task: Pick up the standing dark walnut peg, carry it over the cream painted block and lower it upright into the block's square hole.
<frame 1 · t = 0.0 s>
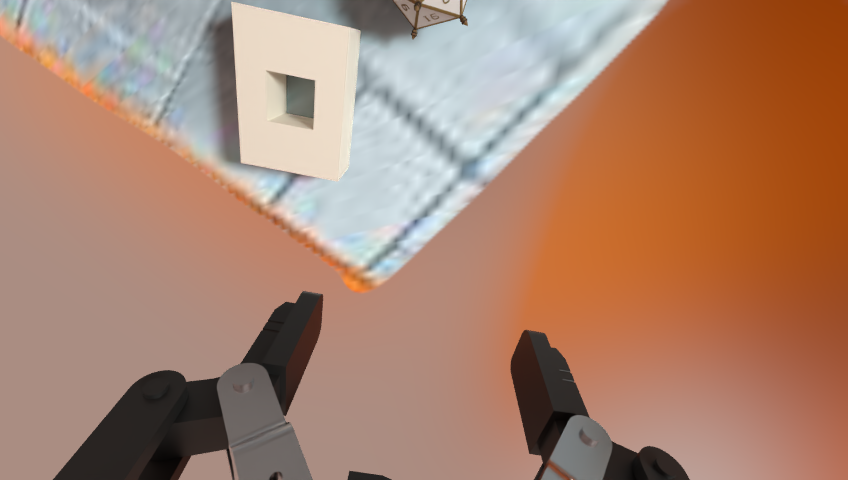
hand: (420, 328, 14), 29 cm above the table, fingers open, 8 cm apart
hole block: (307, 95, 38), on the table
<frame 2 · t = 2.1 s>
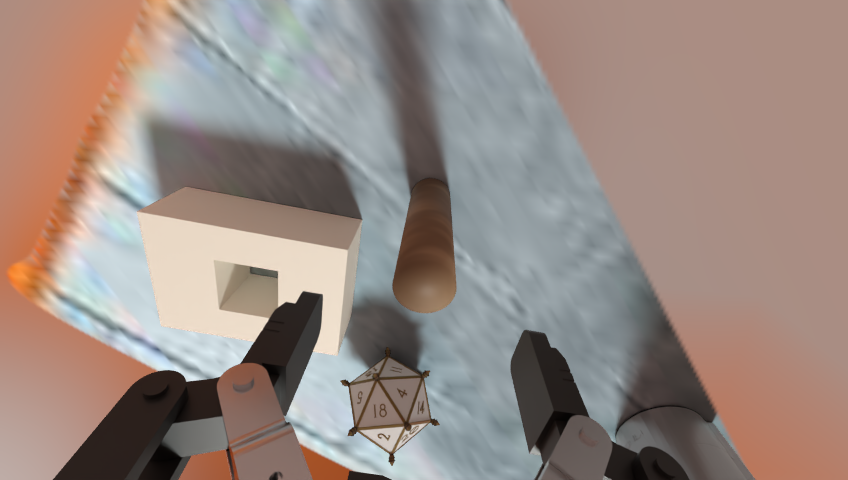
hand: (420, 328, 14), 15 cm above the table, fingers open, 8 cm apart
hole block: (275, 256, 30), on the table
peg: (430, 197, 27), on the table
game die: (394, 367, 36), on the table
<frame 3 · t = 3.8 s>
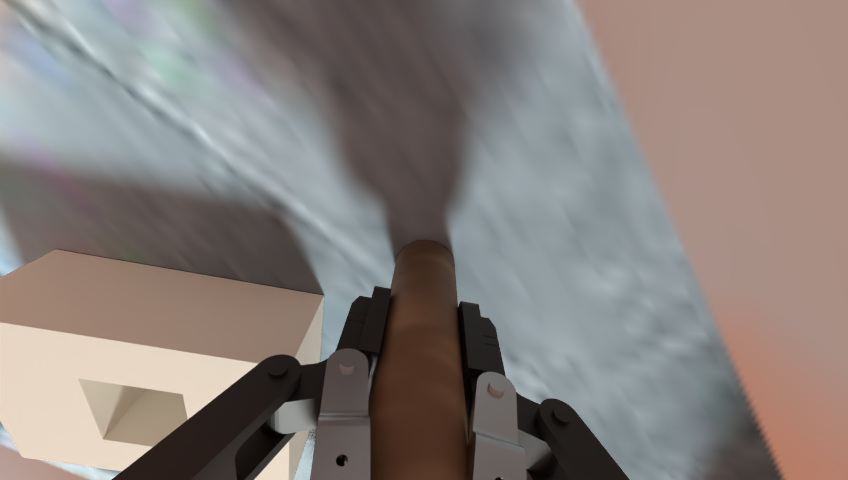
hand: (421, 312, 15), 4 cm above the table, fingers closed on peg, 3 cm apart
hole block: (202, 341, 21), on the table
peg: (425, 265, 18), on the table, touching gripper
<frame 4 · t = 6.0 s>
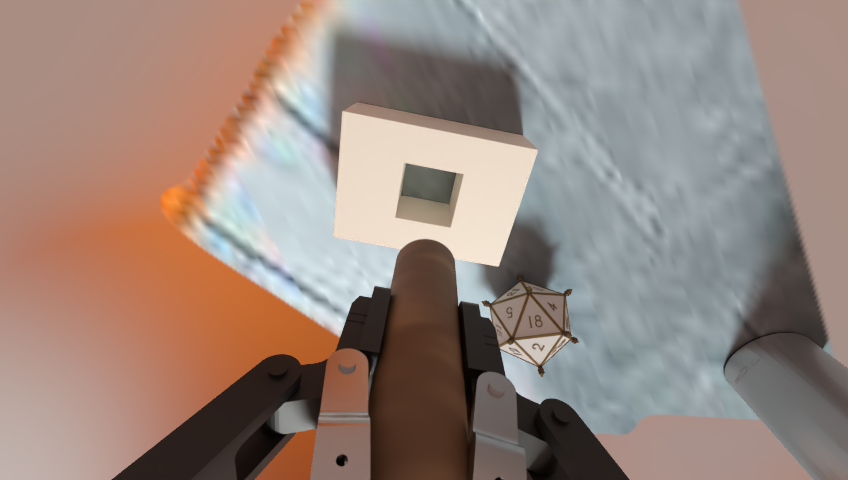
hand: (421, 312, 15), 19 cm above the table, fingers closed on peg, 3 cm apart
hole block: (429, 176, 31), on the table
peg: (425, 264, 18), point 15 cm above the table, touching gripper
game die: (521, 295, 37), on the table
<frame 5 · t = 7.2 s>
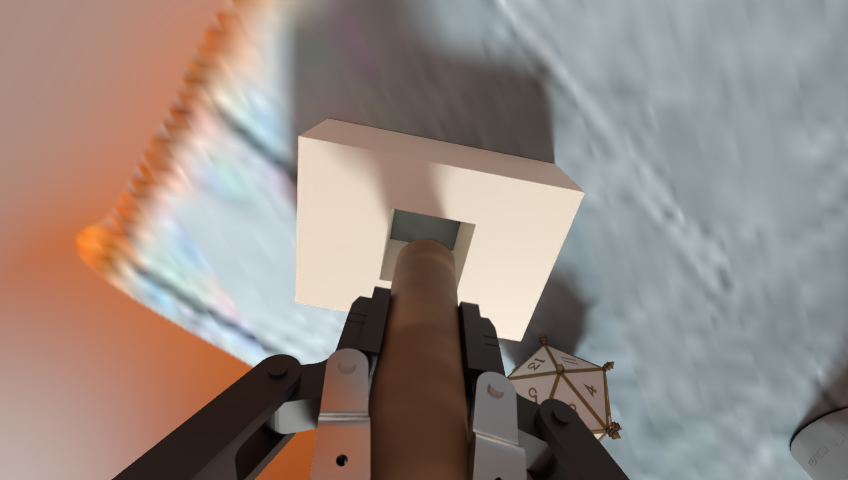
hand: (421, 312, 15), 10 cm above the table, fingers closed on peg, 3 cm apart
hole block: (427, 215, 24), on the table
peg: (425, 264, 18), point 6 cm above the table, touching gripper
game die: (542, 358, 30), on the table
when the fingers open (6 cm above the table, at t = 8.2 s): peg drops 2 cm, resting in hole block.
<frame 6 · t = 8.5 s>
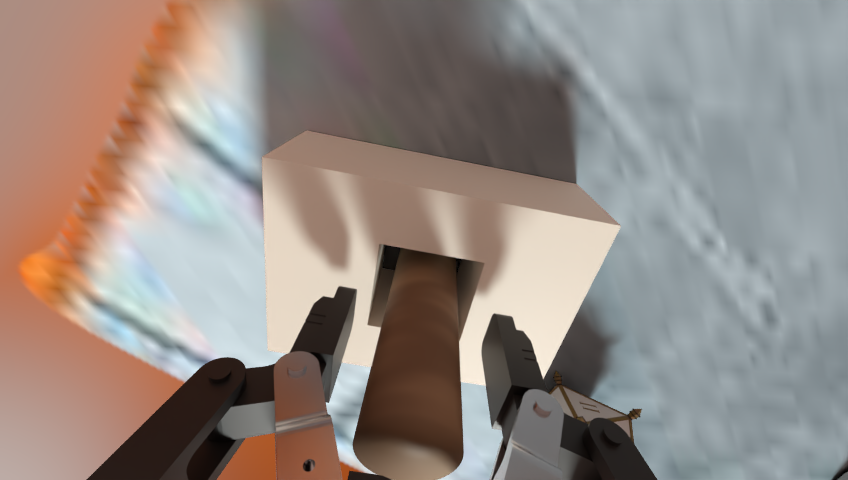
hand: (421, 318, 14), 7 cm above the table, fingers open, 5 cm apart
hole block: (426, 242, 20), on the table
peg: (428, 242, 20), resting in hole block
game die: (556, 396, 26), on the table
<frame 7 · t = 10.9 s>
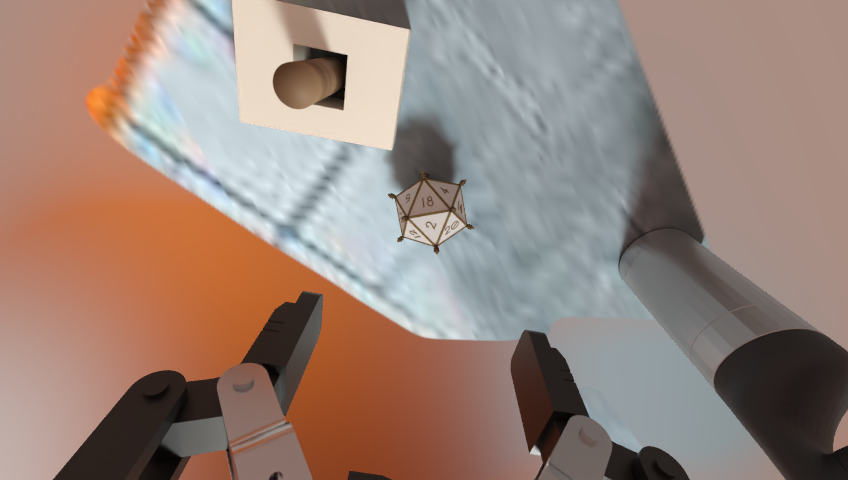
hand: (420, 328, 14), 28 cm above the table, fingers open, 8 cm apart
hole block: (332, 73, 35), on the table
peg: (334, 73, 35), resting in hole block
game die: (430, 196, 41), on the table
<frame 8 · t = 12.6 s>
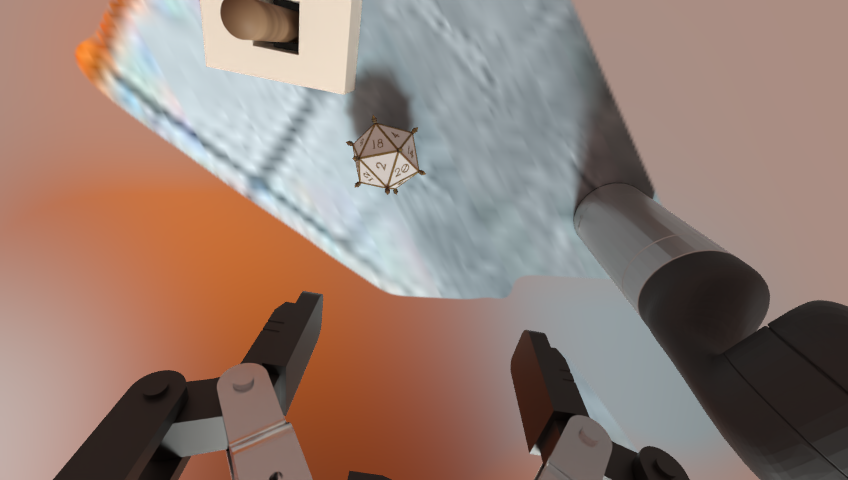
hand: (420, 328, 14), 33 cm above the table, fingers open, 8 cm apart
hole block: (294, 27, 38), on the table
peg: (295, 27, 38), resting in hole block
game die: (390, 149, 44), on the table
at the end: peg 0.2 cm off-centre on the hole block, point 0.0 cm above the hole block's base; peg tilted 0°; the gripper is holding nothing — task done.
